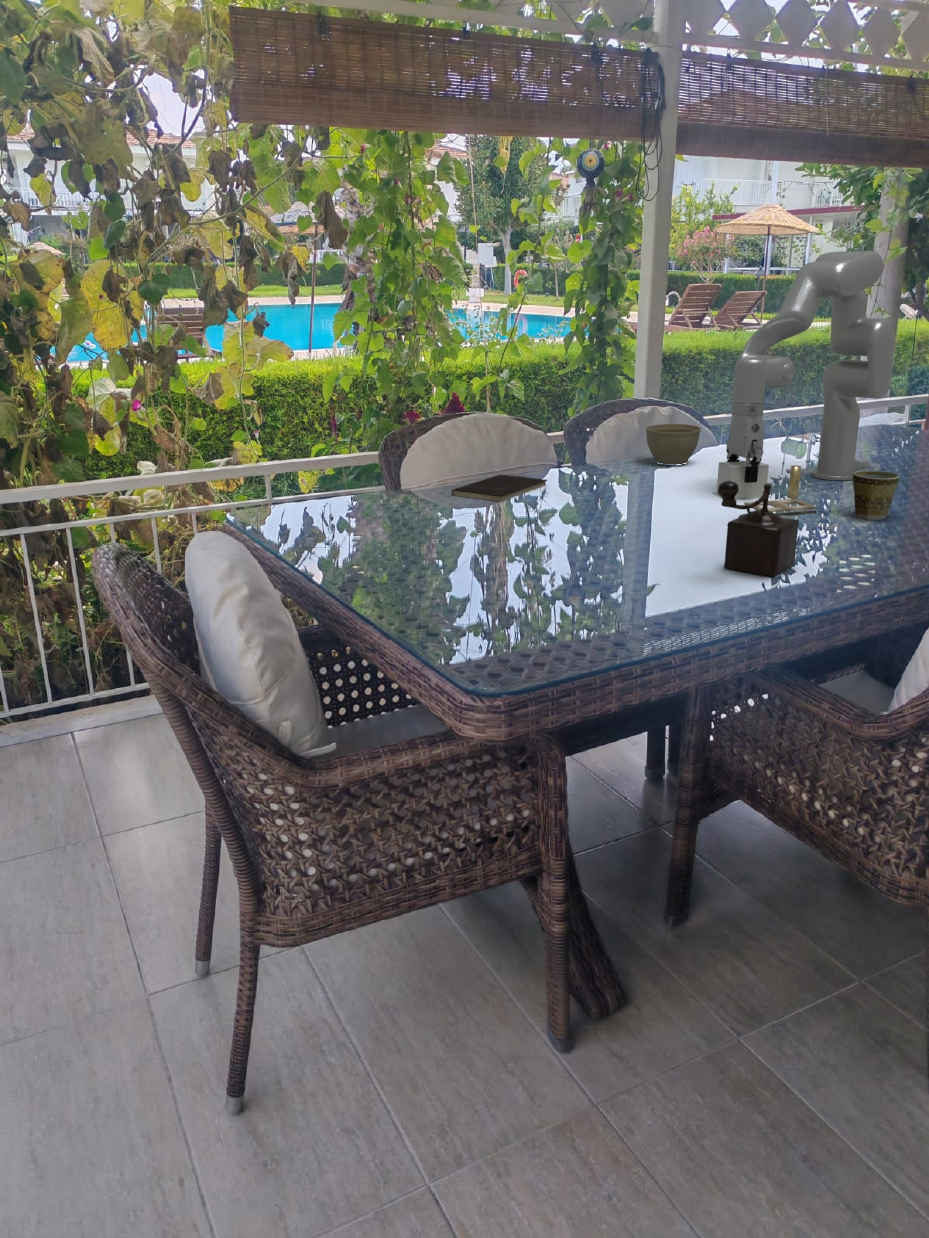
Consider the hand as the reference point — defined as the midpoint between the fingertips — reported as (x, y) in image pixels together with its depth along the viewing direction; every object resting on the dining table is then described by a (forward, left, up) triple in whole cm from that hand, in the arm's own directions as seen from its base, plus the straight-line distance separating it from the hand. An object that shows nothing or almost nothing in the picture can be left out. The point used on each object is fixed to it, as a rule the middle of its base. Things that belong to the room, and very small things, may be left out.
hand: (741, 478), depth 237 cm
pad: (0, 0, -6) cm, 5 cm away
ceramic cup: (-21, +23, -6) cm, 32 cm away
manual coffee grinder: (+26, +56, -6) cm, 62 cm away
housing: (0, 0, -4) cm, 4 cm away
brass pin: (-11, +6, -6) cm, 14 cm away
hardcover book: (+56, -29, -6) cm, 63 cm away
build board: (-3, +14, -6) cm, 15 cm away
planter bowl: (-3, -51, -6) cm, 52 cm away
